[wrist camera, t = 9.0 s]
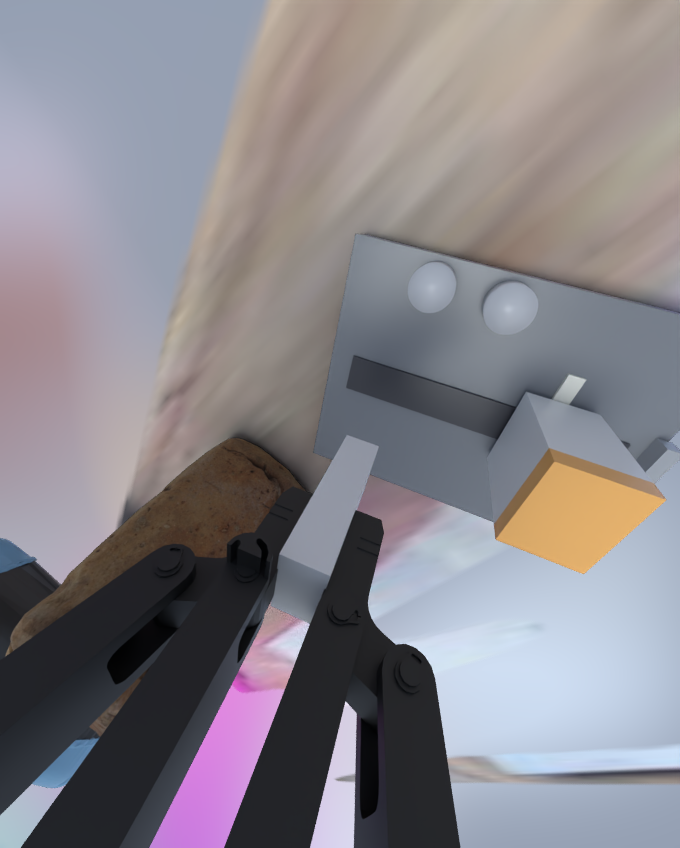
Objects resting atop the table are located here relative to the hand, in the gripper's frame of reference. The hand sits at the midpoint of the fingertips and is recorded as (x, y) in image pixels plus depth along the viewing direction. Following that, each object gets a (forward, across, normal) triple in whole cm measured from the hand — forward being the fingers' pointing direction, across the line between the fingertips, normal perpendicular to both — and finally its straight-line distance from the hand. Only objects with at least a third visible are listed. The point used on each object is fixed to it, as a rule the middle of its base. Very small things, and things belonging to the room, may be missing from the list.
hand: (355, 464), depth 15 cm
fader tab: (+8, +10, +1) cm, 12 cm away
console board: (+10, +6, +1) cm, 12 cm away
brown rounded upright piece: (+11, -9, -14) cm, 20 cm away
